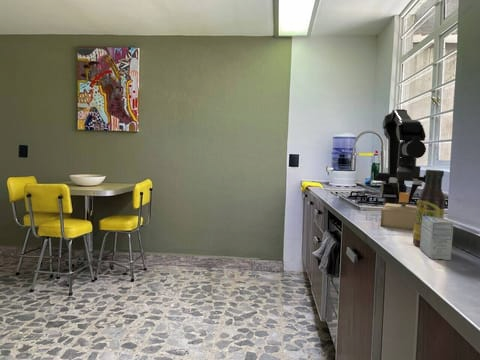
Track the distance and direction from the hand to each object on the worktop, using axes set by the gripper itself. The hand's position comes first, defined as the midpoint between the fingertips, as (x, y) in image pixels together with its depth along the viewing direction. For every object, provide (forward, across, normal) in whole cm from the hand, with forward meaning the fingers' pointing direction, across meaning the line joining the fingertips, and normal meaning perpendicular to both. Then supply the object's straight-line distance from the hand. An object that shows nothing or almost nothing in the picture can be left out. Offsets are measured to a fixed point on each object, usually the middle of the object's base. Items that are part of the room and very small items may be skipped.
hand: (403, 203), depth 120 cm
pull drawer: (+2, 0, 0) cm, 2 cm away
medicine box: (+7, +8, -39) cm, 41 cm away
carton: (+7, 0, -4) cm, 8 cm away
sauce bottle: (+7, +7, -31) cm, 33 cm away
